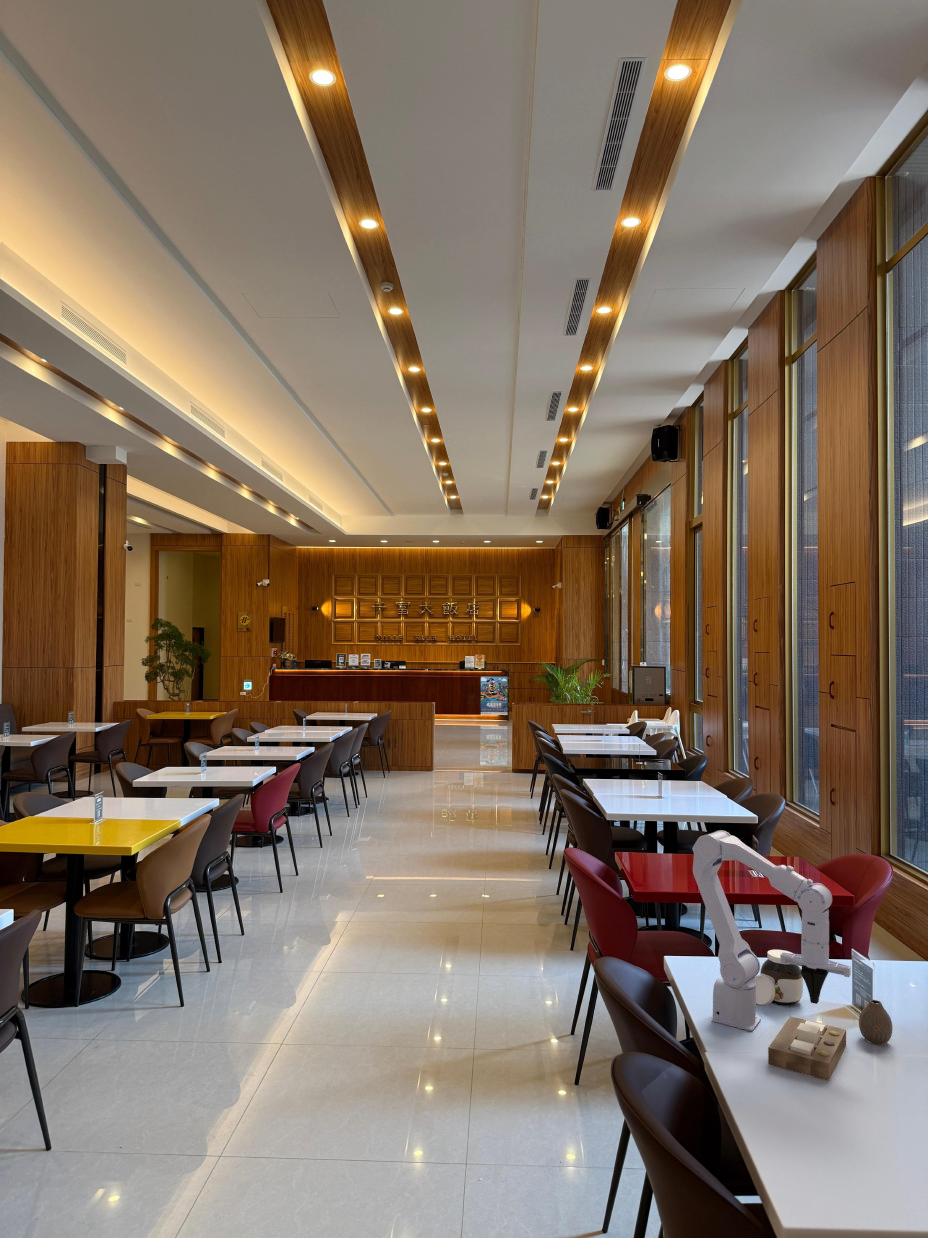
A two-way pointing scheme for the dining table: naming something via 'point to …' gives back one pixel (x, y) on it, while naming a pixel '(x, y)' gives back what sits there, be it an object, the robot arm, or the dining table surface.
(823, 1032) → the button
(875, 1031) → the vase
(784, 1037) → the button board
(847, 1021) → the dining table surface
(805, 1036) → the button middle
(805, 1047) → the button
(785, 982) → the spread jar
